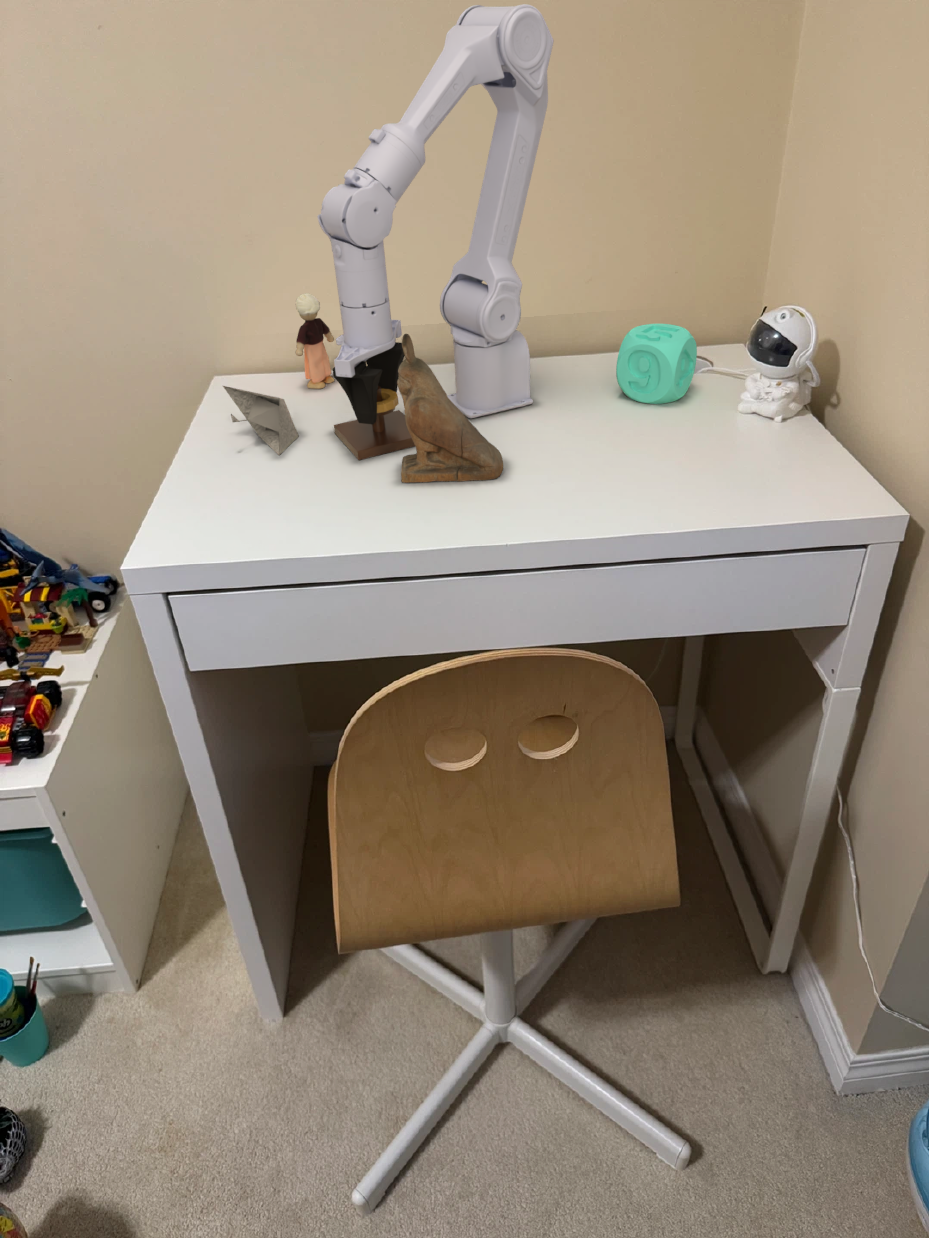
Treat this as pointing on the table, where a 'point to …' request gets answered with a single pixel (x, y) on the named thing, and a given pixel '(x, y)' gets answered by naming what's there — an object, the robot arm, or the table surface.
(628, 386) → the decorative dice
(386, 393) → the brass ring
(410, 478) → the worn brown figurine
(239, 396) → the paper boat
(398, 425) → the peg stand
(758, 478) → the table surface
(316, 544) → the table surface
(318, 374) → the grandmother figurine
